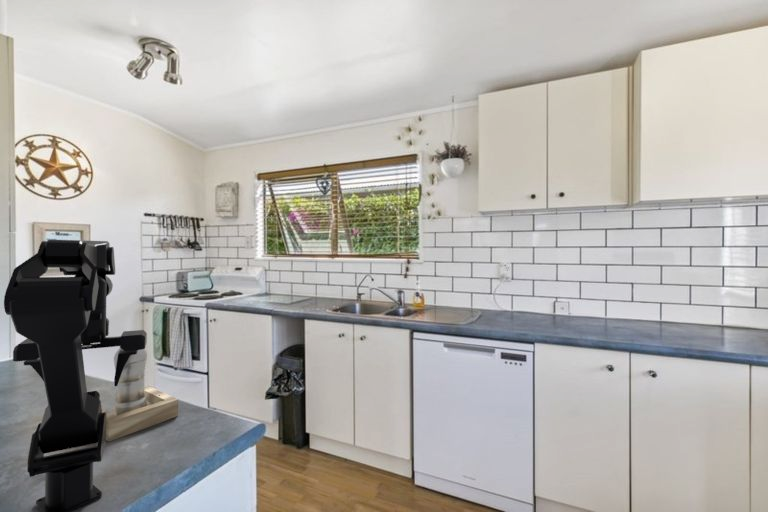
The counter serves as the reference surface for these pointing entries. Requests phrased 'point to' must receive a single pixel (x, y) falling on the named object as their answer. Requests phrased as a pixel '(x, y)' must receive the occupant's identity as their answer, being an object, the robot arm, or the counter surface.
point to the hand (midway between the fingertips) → (85, 389)
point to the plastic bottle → (131, 384)
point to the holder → (142, 415)
